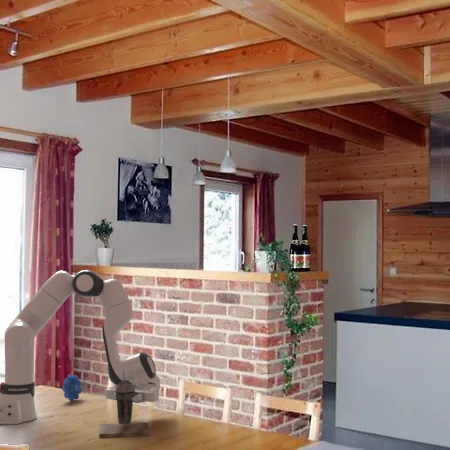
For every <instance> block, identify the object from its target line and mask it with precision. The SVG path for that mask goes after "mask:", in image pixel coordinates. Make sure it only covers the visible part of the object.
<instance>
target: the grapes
mask: <svg viewBox="0 0 450 450" xmlns="http://www.w3.org/2000/svg"><path fill="white" fill-rule="evenodd" d="M81 386H82V382H81V380H80V379H79V377H78V376H77V374H76V375H73V374H68V375H67V378H64V379H63V386H62V388H61V390H62V392H64V393H63V396H64V399H68V401H69V402H73V401H74V400H78V399H79V397H80V395H79V394H81V393H82V390H83V389H82V388H81Z"/></svg>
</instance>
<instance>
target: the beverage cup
mask: <svg viewBox="0 0 450 450" xmlns="http://www.w3.org/2000/svg"><path fill="white" fill-rule="evenodd" d="M116 386H117V387H116V391H115V392H116V398H117V400H116V409H117V411H116V412H117V420H118V421H117V422H118V423H119V424H129V423H132V416H133V415H132V414H133V404H134V402H133V401H132V397H133V396H134V392H135V390H134V386H133V384H132V383H131V382H130V381H127V380H125V374H124V369H123V381H121V382H120V383H118V385H116Z"/></svg>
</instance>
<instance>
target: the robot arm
mask: <svg viewBox="0 0 450 450" xmlns="http://www.w3.org/2000/svg"><path fill="white" fill-rule="evenodd" d="M73 294H77V296H80V297H82V298H84V299H85V298H93V297H95V298H98V300H99V301H100V303H101V306H102V308H103V311H104V317H105V318H104V319H105V320H104V324H103V325H102V328H101V329H102V331H101V332H102V338H103V339H102V340H103V344H104V349H105V356H106V361H107V372H108V378H109V380H110V382H111V383H112V384H113V385H116V386H112V387H108V388H106V389H105V390H104V391H105V394H104V395H105V396H104V397H105V399H107V400H112V401H117V398H116V392H115V391H116V387H117V385H118V383H120V382H121V381H123V369H124V374H125V380H127V381H130V382H131V383H132V384H133V386H134V390H135V392H134V396H133V397H132V401H133V404H140V403H145V402H146V403H147V402H149V403H155V402H158V401H159V399H160V398H159V397H160V387H161V380H160V377H159V376H158V375H157V373H156V372H157V368H156V365H155V362H154V360H153V358H152V357H151V356H150V355H149V354H147V353H145V352H143V351H141V352H139V353H138V352H137V353H136V354H133V355H131V356H128V357H125V358H123V359H121V358H120V355H119V350H118V344H117V337H118V335H119V334H120V332H121V331H122V330H123V329H124V328H126V326H128V324H129V323H130V322H131V320H132V318H133V315H134V311H133V307H132V304H131V302H130V298H129V296H128V294H127V291H126V289H125V287H124V286H123V283H121V281H120V280H119V279H116V278H110V279H106V280H103V279H102V278H101V277H100V275H98V273H97V272H95V271H93V270H89V269H83V270H80V271H79V272H76V273H75V275H73V274H70V273H69V272H68V271H65V270H58V271H56V272H54V273H53V274H52V275H51V276H50V277H49V278H48V279H47V280H46V281H45V282H44V283H43V284H42V285H41V286H40V288H39V289H38V290H37V291H36V293H35V294H34V295H33V296H32V297H31V299H30V300H29V301H28V302H27V303H26V305H25V306H24V307H23V308H22V309H21V311H20V312H19V313H18V314H17V316H16V317H15V318H14V319H13V320H12V322H11V323H10V324H9V326H8V327H7V328H6V330H5V332H4V361H5V362H4V364H5V365H4V382H3V381H2V382H0V425H18V424H21V423H26V422H30V421H33V420H35V419H37V418H38V416H37V411H36V410H37V409H36V406H35V405H36V404H35V394H36V385H35V381H34V378H35V376H34V375H35V373H34V372H35V351H34V350H35V347H34V346H35V338H36V337H37V335H38V334H39V333H40V332H41V331H42V330H43V328H44V327H45V326H46V324H48V322H49V321H50V320H51V319H52V318H53V316H54V315H55V314H56V313H57V311H58V310H59V309H60V308H61V307H62V306H63V304H64V302H65V301H67V299H68V298H69V297H70V296H72V295H73Z"/></svg>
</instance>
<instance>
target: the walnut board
mask: <svg viewBox="0 0 450 450" xmlns="http://www.w3.org/2000/svg"><path fill="white" fill-rule="evenodd" d="M98 429H99V432H98V433H99V434H98V435H99V436H98V438H122V437H123V438H124V437H125V438H126V437H127V438H128V437H129V438H130V437H149V436H150V429H149V424H148V422H131V423H129V424H119V422H118V423H99V428H98Z"/></svg>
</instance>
